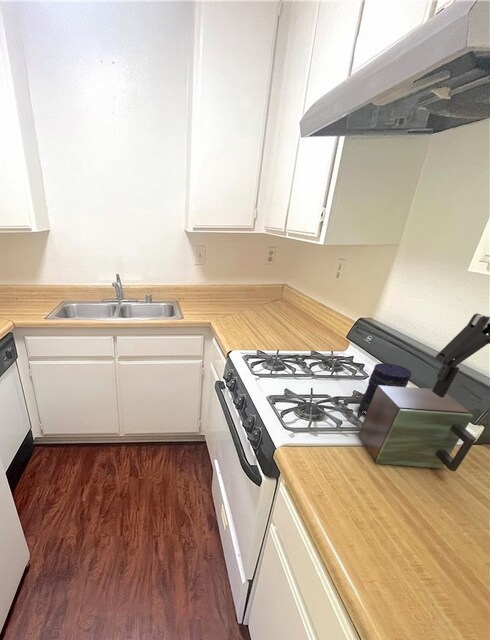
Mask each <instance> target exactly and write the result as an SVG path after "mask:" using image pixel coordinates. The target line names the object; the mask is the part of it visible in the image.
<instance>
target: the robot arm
mask: <svg viewBox="0 0 490 640" xmlns="http://www.w3.org/2000/svg"><path fill="white" fill-rule="evenodd" d="M487 345H490V315H489V316H487V315H483V314H480V313H477V312H476V313H474V314H473V315H472V316H471V318H470V319H469V321H468V323H467V325H466V326H464V328H462V330H461V331H459V333H457V334H456V335H455V336H454V337H453V339H451V340H450V341H449V342H448V343H447V344H446V345H445V346H444V347H443V348H442V349H441V350H440V351H439V352H438V353H437V354H435V355H436V356H435V360H437V361H438V362H440V363H442V365H441V366H440V369H439V371H438V372H437V375H436V379H437V380H436V382H435V384H434V387H433V388H432V389H433V390H432V392H434V393H435V394H436V395H438V396H439V397H444V396H445V394H447V392H448V390H449V389H450V387H451V385H452V383H453V381H454V379H455V378H456V376H457V374H458V372H459V370H460V367H459V366H458V365H460V364H461V363H462V362H464V361H466V360H467V359H468V358H470V357H471V356H473V355H474V354H476V353H477V352H478V351H480V350H482V348H484V347H486V346H487Z"/></svg>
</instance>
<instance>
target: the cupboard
mask: <svg viewBox="0 0 490 640" xmlns="http://www.w3.org/2000/svg"><path fill="white" fill-rule="evenodd" d="M432 390H433V388H425V387H412V386H411V387H409V386H406V387H396V386H381V385H378V386H377V389H376V391H375V394H374V396H373V398H372V401H371V403H370V406H369V408H368V411H367V413H366V416H365V417H364V419H363V420H362V423H361V426H360V428H359V430H358V432H357V437H358V438H359V440H360V441H361V443H362V444H363V446H364V448H365V449H366V451H367V452H368V453H369V455H370V456H371V458H372V459H373V461H374V462H376V461H375V460H376V458H377V456H378V454H379V452H380V450H381V447H382V445H383V443H384V441H385V439H386V437H387V435H388V432H389V430H390V428H391V426H392V424H393V422H394V419H395V417H396V415H397V413H398V411H399V409H411V410H425V411H439V412H454V413H468V414H471V411H469V410H468V409H467V408H466V407H464V406H463V405H462V404H460V403H459V402H458V401H456V400H455V399H454V398H453V397H451V396H450V395H449V394H447V393H446V394H445V396H444V397H439V396H438V395H436V394H435V393H434V392H432Z"/></svg>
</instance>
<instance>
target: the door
mask: <svg viewBox="0 0 490 640" xmlns="http://www.w3.org/2000/svg"><path fill="white" fill-rule="evenodd" d="M473 418H474V415H473V414H472V413H470V414H468V413H454V412H439V411H425V410H411V409H399V411H398V413H397V415H396V417H395V419H394V422H393V424H392V426H391V428H390V430H389V432H388V435H387V437H386V439H385V441H384V443H383V445H382V447H381V450H380V452H379V454H378V456H377V458H376V460H375V461H374V462H375V464H379V465H380V464H382V465H394V466H403V467H404V466H405V467H406V466H407V467H419V468H430V469H443V467H444V466H445V467H446V468H447V469H448V470H449V471H451V472H456V471H458V468H459V467H460V465H461V464H462V462H463V461H464V459H465V458H466V456H467V455H468V453H469V452H470V450H471V448H472V447H473V445H474V444H475V442H476V440H477V437H476V436H474V434H472V433H470V431H469V430H467V427H468V426H469V425H470V422H471V421H472V419H473ZM459 440H461V441H462V444H461V446H460V447H459V449H458V450H457V452H456V454H455V455H454V457H452V456H451V454H452V452H453V450H454V449H455V447H456V445H457V444H458V442H459Z"/></svg>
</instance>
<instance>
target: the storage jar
mask: <svg viewBox="0 0 490 640" xmlns="http://www.w3.org/2000/svg"><path fill="white" fill-rule="evenodd" d="M412 374H413V373H412V371H411V370H410V369H408V368H407V367H404V366H401V365H398V364H393V363H386V362H385V363H384V362H382V363H376V364H375V365H374V368H373V370H372V372H371V374H370V377H369V379H368V385H367V387H366V390H365V392H364V393H363V395H362V398H361V399H360V402H359V406H358V408H357V412H358V413H359V414H360V415H361V416H363V417H364V418H365V416H366V414H365V413H364V412H363V413H362V411H366V412H367V411H368V408H369V406H370V403H371V401H372V398H373V396H374V394H375V391H376V389H377V386H378V385H381V386H396V387H408V385H409V381H410V378H411V377H412Z"/></svg>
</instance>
